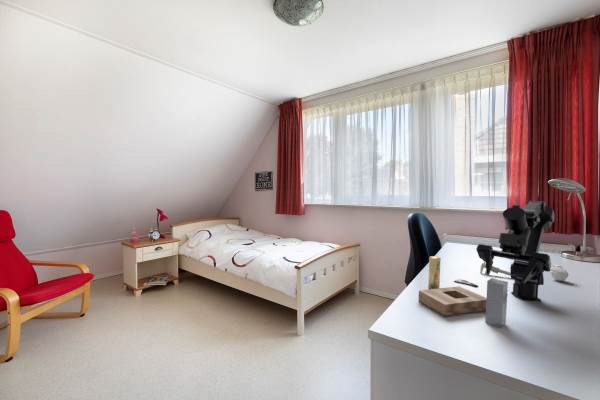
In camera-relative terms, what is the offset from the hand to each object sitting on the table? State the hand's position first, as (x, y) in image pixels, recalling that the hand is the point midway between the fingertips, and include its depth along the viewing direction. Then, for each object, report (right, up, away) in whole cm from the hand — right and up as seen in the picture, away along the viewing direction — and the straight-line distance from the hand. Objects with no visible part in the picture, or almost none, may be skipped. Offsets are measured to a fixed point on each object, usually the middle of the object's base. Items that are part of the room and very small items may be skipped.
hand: (504, 278), depth 84 cm
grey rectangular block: (-5, -13, -4) cm, 14 cm away
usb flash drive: (+6, -12, +31) cm, 34 cm away
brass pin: (-10, -11, +24) cm, 28 cm away
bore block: (-11, -12, +9) cm, 18 cm away
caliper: (+32, -12, +40) cm, 52 cm away
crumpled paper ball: (+52, -12, +37) cm, 65 cm away
